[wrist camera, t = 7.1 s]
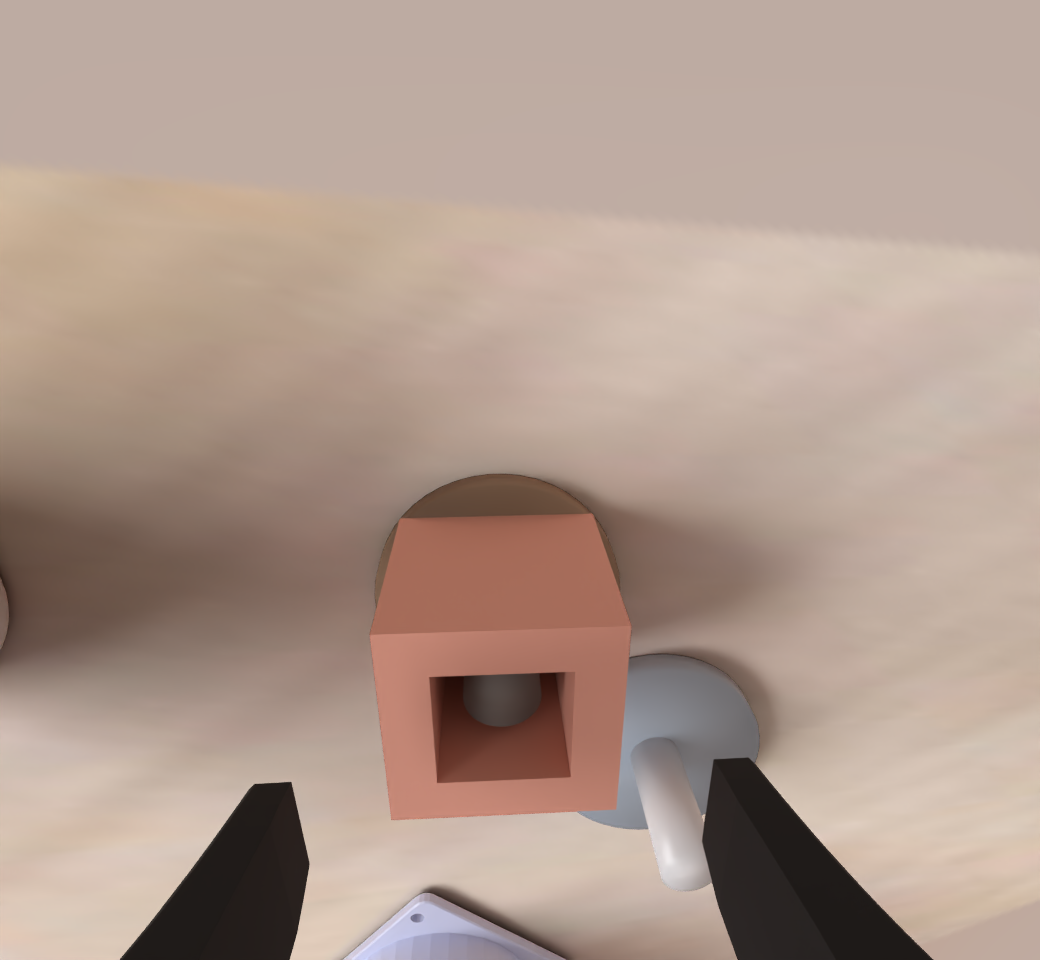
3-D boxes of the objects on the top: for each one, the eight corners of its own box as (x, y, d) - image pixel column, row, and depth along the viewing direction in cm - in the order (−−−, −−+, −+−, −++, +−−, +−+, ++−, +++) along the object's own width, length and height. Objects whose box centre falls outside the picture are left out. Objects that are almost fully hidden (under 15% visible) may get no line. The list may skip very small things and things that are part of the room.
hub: (510, 709, 21) (518, 844, 17) (331, 596, 19) (285, 716, 15) (663, 567, 19) (716, 677, 15) (482, 424, 17) (482, 503, 13)
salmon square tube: (585, 666, 20) (616, 809, 15) (413, 672, 19) (391, 820, 15) (592, 513, 17) (631, 626, 13) (399, 518, 17) (369, 634, 13)
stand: (647, 836, 24) (683, 980, 20) (504, 750, 22) (509, 889, 17) (792, 723, 22) (868, 854, 18) (650, 617, 20) (697, 736, 16)
